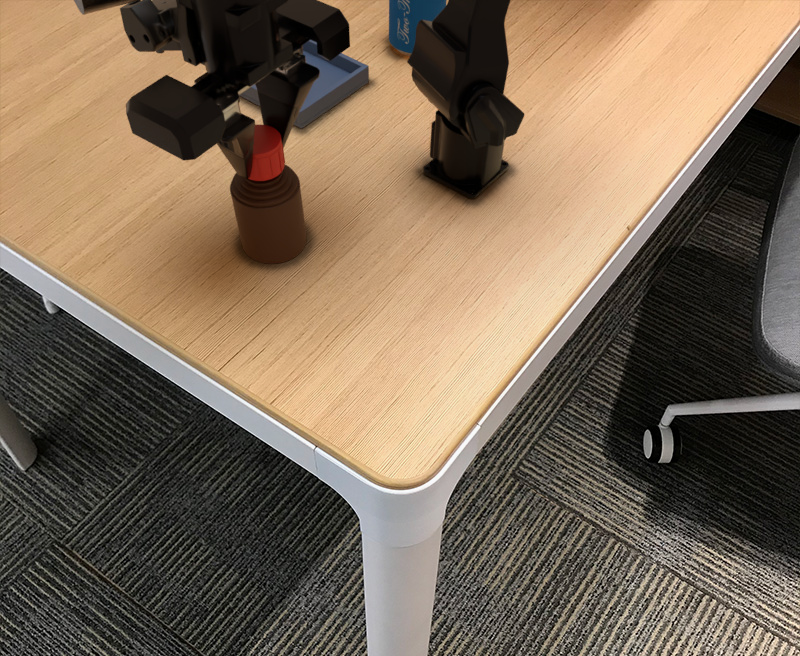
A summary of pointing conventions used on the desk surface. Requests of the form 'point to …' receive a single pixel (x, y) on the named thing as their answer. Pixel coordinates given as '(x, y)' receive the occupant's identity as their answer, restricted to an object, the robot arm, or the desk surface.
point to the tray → (324, 83)
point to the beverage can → (409, 20)
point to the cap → (267, 154)
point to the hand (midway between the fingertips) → (260, 163)
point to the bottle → (270, 216)
